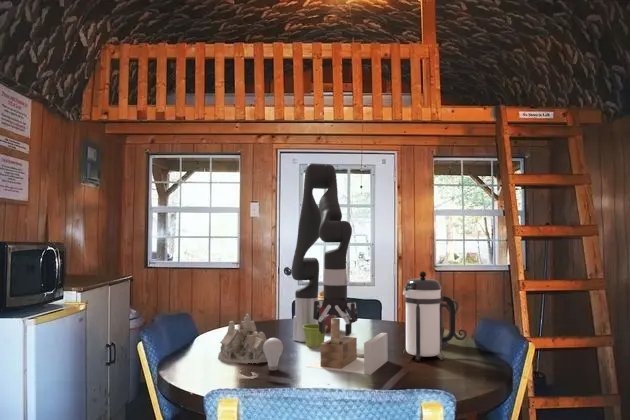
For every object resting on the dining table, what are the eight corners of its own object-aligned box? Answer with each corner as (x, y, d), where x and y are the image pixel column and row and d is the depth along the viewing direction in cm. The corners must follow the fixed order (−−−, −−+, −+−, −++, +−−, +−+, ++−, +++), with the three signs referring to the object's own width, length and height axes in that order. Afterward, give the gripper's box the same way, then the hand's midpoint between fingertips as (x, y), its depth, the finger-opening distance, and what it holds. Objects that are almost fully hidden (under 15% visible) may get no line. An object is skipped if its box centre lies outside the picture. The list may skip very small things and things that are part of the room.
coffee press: (440, 365, 170) (439, 273, 171) (394, 359, 178) (394, 271, 180) (455, 355, 184) (455, 270, 186) (413, 349, 193) (413, 268, 194)
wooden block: (357, 363, 175) (355, 358, 174) (359, 356, 177) (357, 351, 176) (386, 366, 171) (384, 362, 170) (387, 358, 173) (385, 354, 171)
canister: (341, 329, 233) (342, 290, 234) (327, 334, 222) (327, 292, 223) (317, 326, 240) (317, 288, 241) (302, 330, 229) (302, 290, 230)
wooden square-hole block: (320, 366, 162) (320, 343, 162) (337, 356, 175) (337, 335, 175) (341, 369, 159) (341, 346, 159) (356, 359, 172) (356, 337, 172)
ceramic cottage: (214, 355, 181) (217, 313, 181) (258, 353, 188) (261, 312, 188) (226, 369, 167) (229, 323, 167) (273, 366, 174) (276, 321, 174)
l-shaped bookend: (306, 371, 162) (306, 337, 162) (328, 358, 178) (328, 328, 179) (370, 379, 153) (370, 343, 154) (387, 365, 170) (387, 333, 170)
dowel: (329, 357, 163) (329, 319, 164) (332, 355, 166) (333, 317, 166) (337, 358, 162) (337, 319, 163) (340, 356, 164) (341, 318, 165)
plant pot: (330, 348, 195) (330, 324, 195) (322, 353, 186) (322, 329, 187) (307, 346, 198) (307, 323, 199) (298, 351, 189) (298, 327, 190)
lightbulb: (263, 371, 161) (263, 336, 162) (282, 371, 162) (283, 335, 162) (262, 377, 155) (263, 340, 156) (283, 376, 156) (283, 339, 156)
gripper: (310, 283, 164) (309, 334, 164) (352, 285, 159) (352, 338, 158) (319, 281, 171) (319, 330, 170) (360, 283, 165) (360, 334, 165)
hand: (335, 334), depth 164 cm, fingers open, 8 cm apart
